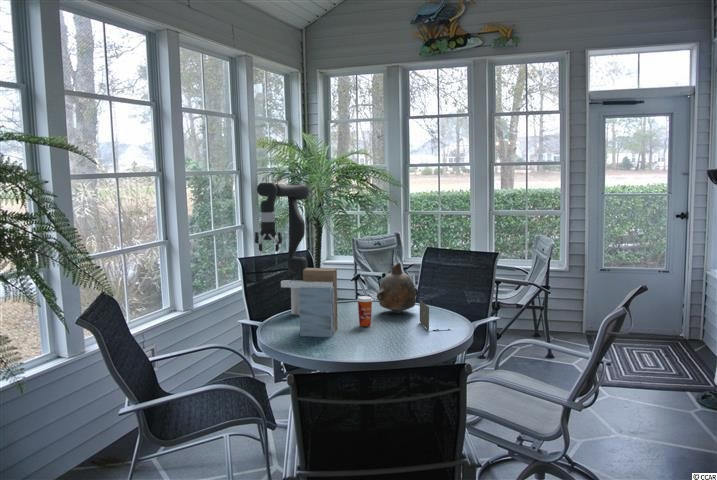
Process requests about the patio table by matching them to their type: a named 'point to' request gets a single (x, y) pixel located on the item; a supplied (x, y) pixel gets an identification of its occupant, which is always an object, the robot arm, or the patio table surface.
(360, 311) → the coffee cup
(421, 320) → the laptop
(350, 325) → the patio table surface
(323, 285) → the aluminium bar
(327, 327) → the display riser
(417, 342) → the patio table surface
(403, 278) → the jug
